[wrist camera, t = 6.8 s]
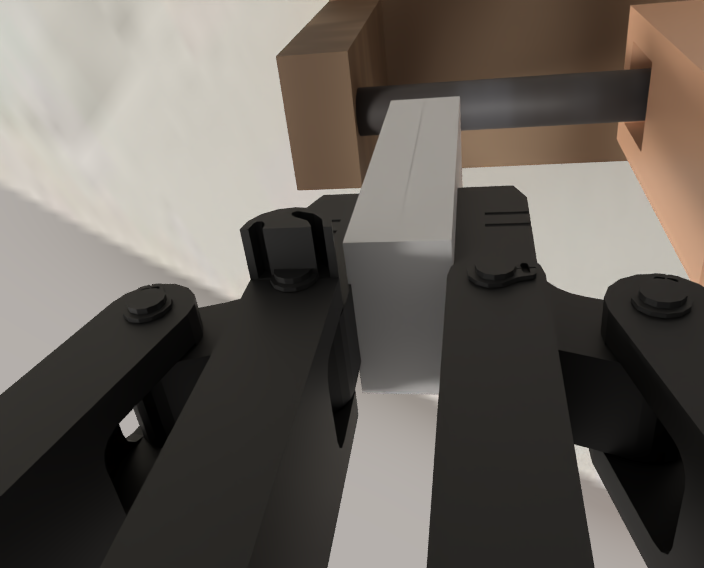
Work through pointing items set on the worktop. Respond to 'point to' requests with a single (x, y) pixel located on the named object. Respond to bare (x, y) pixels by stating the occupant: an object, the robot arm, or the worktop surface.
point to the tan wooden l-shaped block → (670, 122)
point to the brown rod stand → (461, 80)
